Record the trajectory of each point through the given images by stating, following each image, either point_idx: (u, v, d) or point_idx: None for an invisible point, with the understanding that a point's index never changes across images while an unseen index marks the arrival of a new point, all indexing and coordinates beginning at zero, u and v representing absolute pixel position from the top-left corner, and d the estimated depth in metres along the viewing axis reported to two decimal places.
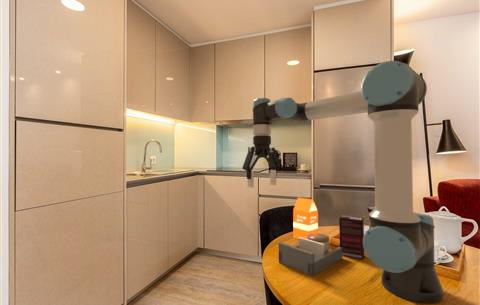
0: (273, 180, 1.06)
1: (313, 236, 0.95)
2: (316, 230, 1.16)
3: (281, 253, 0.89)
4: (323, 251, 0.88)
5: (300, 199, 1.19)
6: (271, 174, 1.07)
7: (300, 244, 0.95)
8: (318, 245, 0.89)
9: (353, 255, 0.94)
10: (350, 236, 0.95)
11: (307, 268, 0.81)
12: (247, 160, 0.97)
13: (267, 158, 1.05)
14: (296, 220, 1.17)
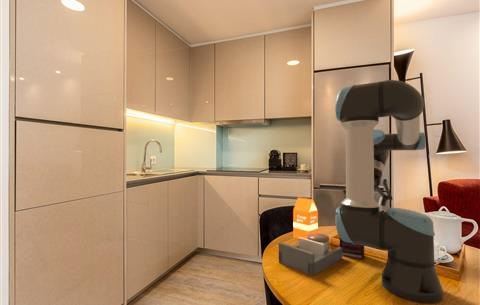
0: None
1: (313, 236, 0.95)
2: (316, 230, 1.16)
3: (281, 253, 0.89)
4: (323, 251, 0.88)
5: (300, 199, 1.19)
6: None
7: (300, 244, 0.95)
8: (318, 245, 0.89)
9: (353, 255, 0.94)
10: None
11: (307, 268, 0.81)
12: None
13: (375, 188, 1.08)
14: (296, 220, 1.17)
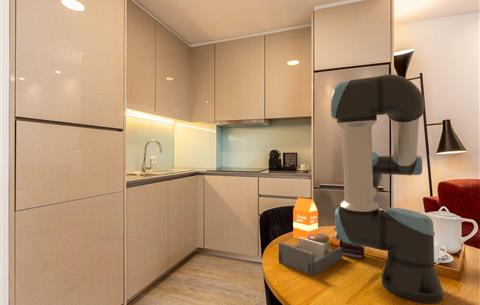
0: None
1: (313, 236, 0.95)
2: (316, 230, 1.16)
3: (281, 253, 0.89)
4: (323, 251, 0.88)
5: (300, 199, 1.19)
6: None
7: (300, 244, 0.95)
8: (318, 245, 0.89)
9: (353, 255, 0.94)
10: None
11: (307, 268, 0.81)
12: None
13: None
14: (296, 220, 1.17)
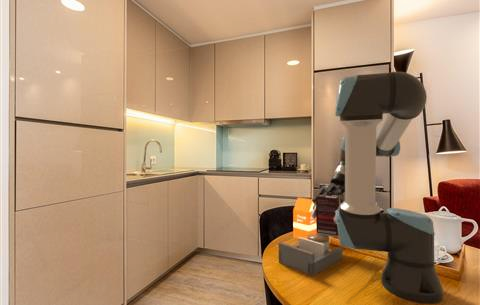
0: None
1: (313, 236, 0.95)
2: None
3: (281, 253, 0.89)
4: (323, 251, 0.88)
5: (300, 199, 1.19)
6: None
7: (300, 244, 0.95)
8: (318, 245, 0.89)
9: (329, 231, 0.98)
10: (325, 214, 0.99)
11: (307, 268, 0.81)
12: None
13: None
14: (296, 220, 1.17)
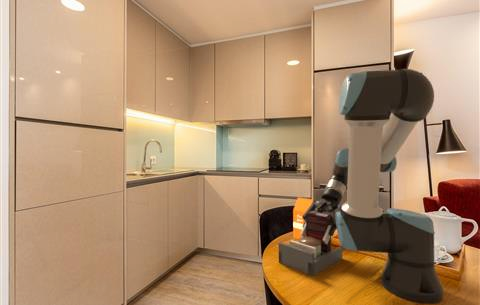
0: None
1: (305, 240, 0.91)
2: None
3: (281, 253, 0.89)
4: (315, 255, 0.84)
5: (300, 199, 1.19)
6: None
7: None
8: (309, 249, 0.85)
9: None
10: (315, 232, 0.94)
11: (307, 268, 0.81)
12: None
13: None
14: (296, 220, 1.17)
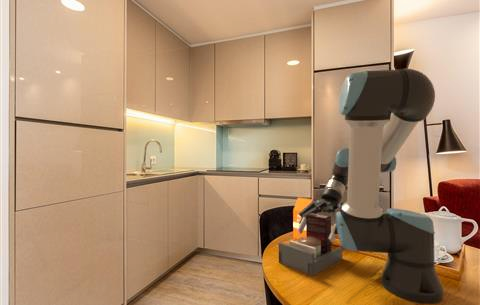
0: None
1: (304, 240, 0.91)
2: None
3: (281, 253, 0.89)
4: (314, 255, 0.84)
5: (300, 199, 1.19)
6: None
7: None
8: (309, 249, 0.85)
9: None
10: (315, 234, 0.95)
11: (307, 268, 0.81)
12: None
13: None
14: (296, 220, 1.17)
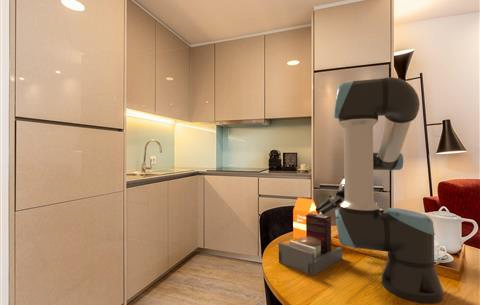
0: None
1: (304, 240, 0.91)
2: None
3: (281, 253, 0.89)
4: (314, 255, 0.84)
5: (300, 199, 1.19)
6: None
7: None
8: (309, 249, 0.85)
9: None
10: (315, 234, 0.95)
11: (307, 268, 0.81)
12: None
13: None
14: (296, 220, 1.17)
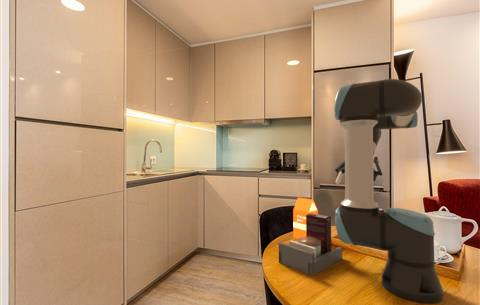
0: None
1: (304, 240, 0.91)
2: None
3: (281, 253, 0.89)
4: (314, 255, 0.84)
5: (300, 199, 1.19)
6: None
7: None
8: (309, 249, 0.85)
9: None
10: (315, 234, 0.95)
11: (307, 268, 0.81)
12: None
13: None
14: (296, 220, 1.17)
